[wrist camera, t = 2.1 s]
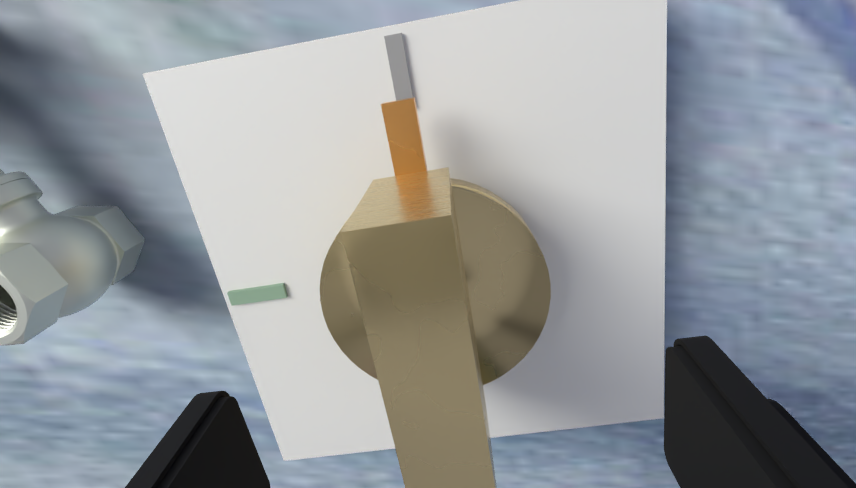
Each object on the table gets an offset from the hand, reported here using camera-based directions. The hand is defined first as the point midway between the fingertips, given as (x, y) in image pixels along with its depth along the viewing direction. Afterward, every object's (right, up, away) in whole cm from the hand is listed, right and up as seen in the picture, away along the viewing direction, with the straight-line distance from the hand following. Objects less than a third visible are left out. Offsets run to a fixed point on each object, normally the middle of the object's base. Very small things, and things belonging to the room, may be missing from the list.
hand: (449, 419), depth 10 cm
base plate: (0, +4, +11) cm, 12 cm away
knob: (0, +4, +8) cm, 9 cm away
